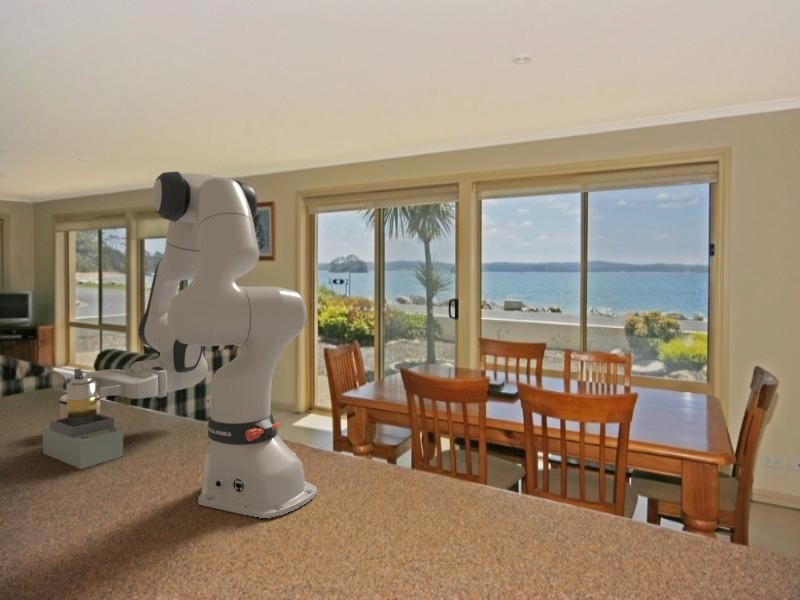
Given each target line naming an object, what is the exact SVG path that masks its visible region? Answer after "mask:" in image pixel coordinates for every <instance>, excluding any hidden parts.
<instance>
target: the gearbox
mask: <svg viewBox="0 0 800 600" xmlns="http://www.w3.org/2000/svg"><path fill="white" fill-rule="evenodd" d="M49 423H50V424H49V425H45V426H43V427H42V452H43V453H42V454H44V455H46V456H48V457H51V458H53V459H56V460H58V461H60V462H63V463H65V464H67V465H70V466H72V467H75V468H77V469H79V470H83V469H87V468H89V467H93V466H96V464H97V465H99V463H100V464H102V462H103V463H106V462H109V460H110V461H113V460H115V459H114V458H116V459H118V457H119V458H122V457H121V456H123V457H124V430H123V429H122V428H118V427H116V426H115V419H114V417H111V416H108V415H105V414H101V413H100V414H98V413H97V421H96V422H92V423H88V424H84V425H80V426H75V427H72V426H69V425H68V417H66V418H62V419H60V418H59V419H54V420H53V419H52V420H50V421H49ZM112 459H113V460H112Z"/></svg>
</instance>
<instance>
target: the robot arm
mask: <svg viewBox="0 0 800 600" xmlns="http://www.w3.org/2000/svg"><path fill="white" fill-rule="evenodd" d="M151 192H152V193H151V199H152V200H151V201H152V203H153V207H154V210H155V212H156V214H157V215H158V216H159V217H160V218H162V219H164V220H168V227H167V232H166V240H165V241H166V242H165V247H164V252H163V255H162V257H161V258H160V259H159V261H158V262H157V264H156V267H155V271H154V275H153V277H152V278H153V279H152V283H151V286H150V287H151V288H150V291H149V297H148V302H147V306H146V309H145V312H144V314H143V316H142V318H141V320H140V323H139V325H138V330H137V331H138V334H137V335H138V337H139V339H140V341H141V342H142V344H143V345H145V346H147V347H149V348H150V349H153V350H156V351H157V352H159V356H158V358H153V359H149V360H148V359H147V360H139V361H136V362H133V363H132V364H131V365H130V368H128V369H127V370H124V369H118V368H117V369H116V368H111V369H110V368H109V369H102V370H93V371H89V372H87V373H86V374H85V377H92V381H96V389H97V395H98V396H101V398H104V397H108V396H119V397H124V398H128V399H131V400H141V399H148V398H164V397H167V394H168V391H169V392H170V391H171V392H174V391H179V390H183V389H188V388H191V387H193V386H195V385H198V384H199V383H201V382H203V380H204V379H205V378H206V376H207V373H208V371H209V370H208V369H209V368H208V367H209V365H208V361H207V359H206V357H204V353H203V352H204V348H205V347H214V346H215V347H217V346H218V347H219V346H232V345H241V346H240V350H239V351H238V354H236V356H235V357H234V359H231V361H230V362H228V363H225V364H224V365H222V366H220V368H219V367H218V369H217V370H216V371H215V373H214V374H213V376H212V378H211V380H210V415H209V417H208V418H207V419H208V420H207V437H208V438H209V446H208V449H207V451H206V455H205V460H204V470H203V479H202V486H201V487H202V488H201V492H200V495H199V496H198V497H197V498H198V499H197V504H198V505H199V506H203V507H206V508H207V507H208V508H212V509H217V510H221V511H226V512H229V513H235V514H240V515H242V516H243V515H244V516H247V515H249V516H248V517H252V516H254V517H253V518H256V517H259V518H258V519H261V518H268V519H272V518H271V517H274V516H277V517H280V516H279V515H281V516H284V515H286V514H288V512H289V513H291V512H294V511H296V510H298V509H299V508H301V507H303V506H305V505H306V504H308V503H309V502H310V500H311V499H312V500H313V499H314V498H315V497H316V496H317V494H318V487H317V486H316V485H314V484H313V483H310V482H308V481H306V480H305V469H304V465H303V462H302V460H301V459H300V458H299V457H298V456H297V454H296V453H295V452H294V451H292V450H291V449H290V448H289V446H288V445H287V444H286V443H285V442H284V441H283V440H282V439H281V438H280V436H279V435H278V429H279V428H282V425H281V423H282V421H278V422H276V421H275V419H274V415H273V413H272V412H271V406H272V405H271V401H272V399H271V398H272V397H271V396H272V384H273V376H274V371H275V368H276V365H277V363H278V362H279V358H280V357H281V355H282V354H283V352H284V350H285V349H286V348H287V346H288V345H289V344H290V343H291V342H292V341H293V340H294V339H295V338H296V337H298V336H299V335H300V333H302V331H303V330H304V327H305V325H306V322H307V317H308V310H307V305H306V303H305V301H304V299H303V297H302V296H301V294H300V293H298V291H297V290H292V289H289V288H285V287H280V286H279V287H278V286H270V285H269V286H241V285H237V283H236V279H238V278H241V277H243V276H245V275H246V274H248V273H249V272H251V271H252V270H253V269H254V268H255V267H256V266H257V264H258V262H259V259H260V250H259V243H258V238H257V234H256V229H255V223H254V220H255V217H256V214H257V211H258V210H257V209H258V198H257V194H256V192H255V190H254V188H253V187H252V186H251V185H250V184H248V183H246V182H242V181H239V180H233V179H231V178H229V177H223V176H222V177H221V176H218V177H217V176H212V175H209V174H205V173H200V174H199V173H189V172H188V173H186V172H185V173H184V172H183V173H182V172H179V171H167V172H162V173H161V174H160V175H159V176H157V177H156V179H155V183H154V185H153V188H152V191H151ZM190 280H192V281H191V282H190V283H189V284H188V285H187V286H186V287H184V288H183V289H181V290H180V291H179V292H178V289H179V288H178V287H179V286H180V283H181V282H182V281H190ZM315 495H316V496H315ZM312 500H311V501H312ZM307 502H308V503H307ZM304 504H305V505H304ZM302 505H303V506H302ZM300 506H301V507H300ZM295 509H296V510H295ZM290 511H291V512H290ZM285 513H286V514H285ZM283 514H284V515H283ZM274 518H275V517H274Z"/></svg>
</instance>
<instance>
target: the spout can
mask: <svg viewBox="0 0 800 600" xmlns="http://www.w3.org/2000/svg"><path fill="white" fill-rule="evenodd" d="M83 371H84V369H83V368H75V369H74V371H73V372H74V374H73V375H74V377H73V378H71V379H70V382H68V383H66V395H67V416H68V425H69V426H72V427H75V426H80V425H84V424H88V423H92V422H96V421H97V389H96V381H92V377H86V376H84V372H83Z"/></svg>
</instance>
